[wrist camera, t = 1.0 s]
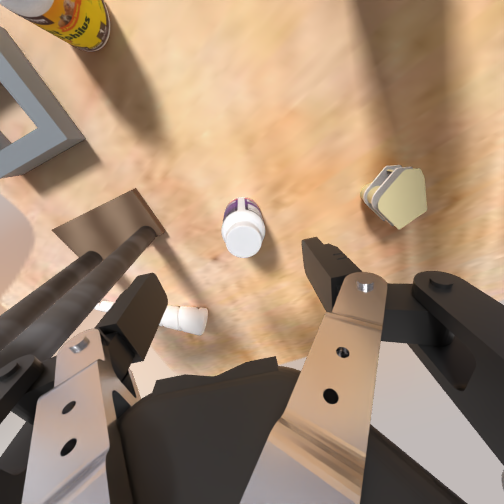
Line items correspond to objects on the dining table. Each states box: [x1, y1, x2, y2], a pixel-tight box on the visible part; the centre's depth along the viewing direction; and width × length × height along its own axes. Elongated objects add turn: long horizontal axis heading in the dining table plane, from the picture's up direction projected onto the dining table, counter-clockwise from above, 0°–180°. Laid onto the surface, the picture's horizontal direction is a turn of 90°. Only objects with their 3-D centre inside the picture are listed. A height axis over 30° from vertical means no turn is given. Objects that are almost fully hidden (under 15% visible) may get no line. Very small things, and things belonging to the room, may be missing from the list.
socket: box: [0, 27, 85, 179], centre depth 22 cm, size 10×10×3 cm
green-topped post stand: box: [0, 188, 165, 369], centre depth 17 cm, size 15×11×29 cm
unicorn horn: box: [94, 301, 208, 335], centre depth 37 cm, size 5×24×5 cm, turn 76°
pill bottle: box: [222, 197, 265, 258], centre depth 27 cm, size 5×5×10 cm
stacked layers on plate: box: [360, 165, 427, 230], centre depth 28 cm, size 10×9×6 cm
